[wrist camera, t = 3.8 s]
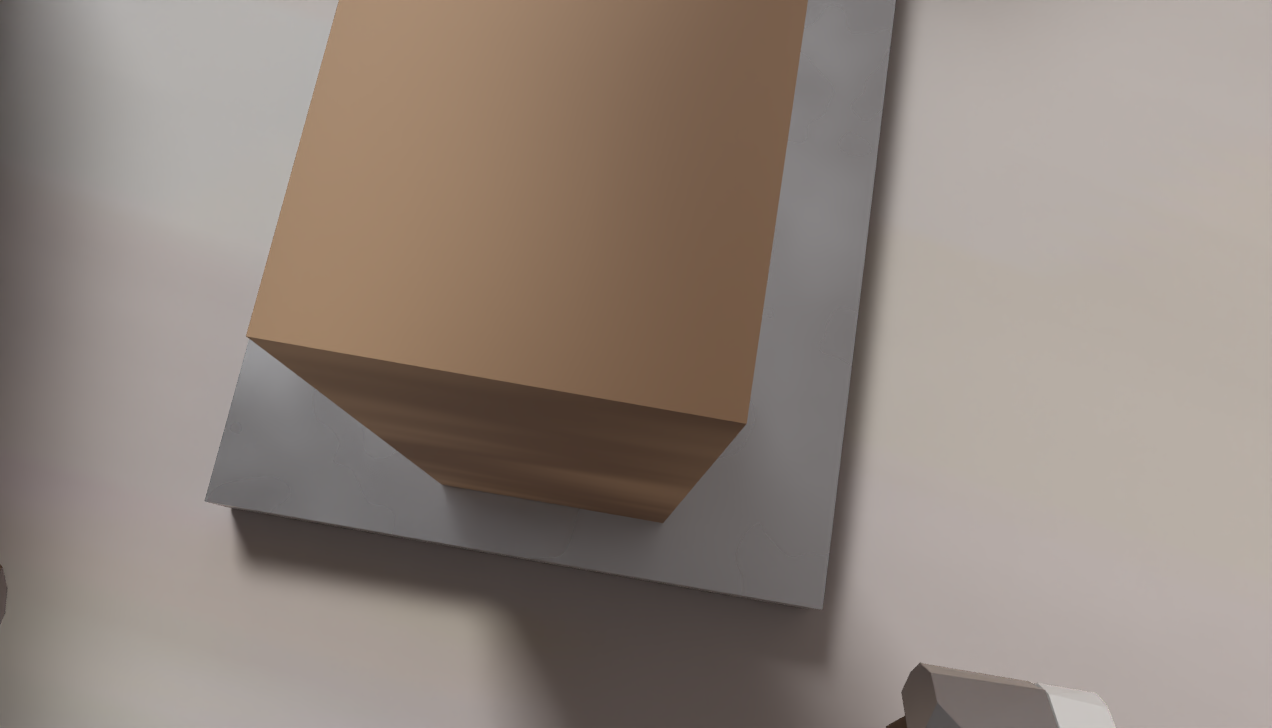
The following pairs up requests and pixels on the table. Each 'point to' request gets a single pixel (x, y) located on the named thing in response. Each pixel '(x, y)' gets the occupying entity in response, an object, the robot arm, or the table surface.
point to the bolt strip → (740, 477)
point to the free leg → (539, 237)
